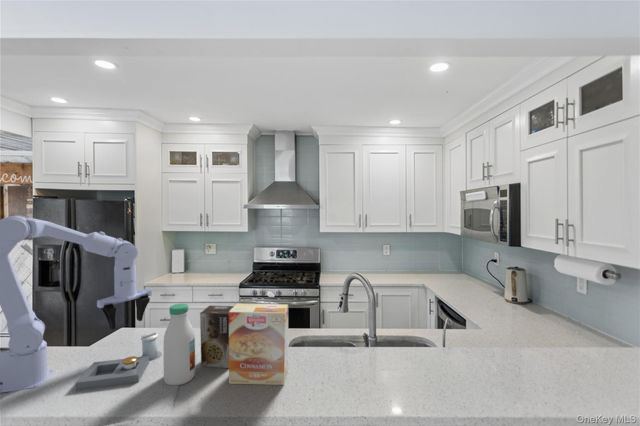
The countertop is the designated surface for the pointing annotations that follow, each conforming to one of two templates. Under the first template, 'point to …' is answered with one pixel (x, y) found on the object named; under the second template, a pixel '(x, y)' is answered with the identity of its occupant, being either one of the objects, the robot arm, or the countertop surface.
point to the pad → (157, 355)
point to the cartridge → (149, 345)
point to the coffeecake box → (258, 344)
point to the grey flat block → (111, 374)
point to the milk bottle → (179, 347)
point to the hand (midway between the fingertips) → (126, 324)
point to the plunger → (129, 363)
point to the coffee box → (215, 336)
